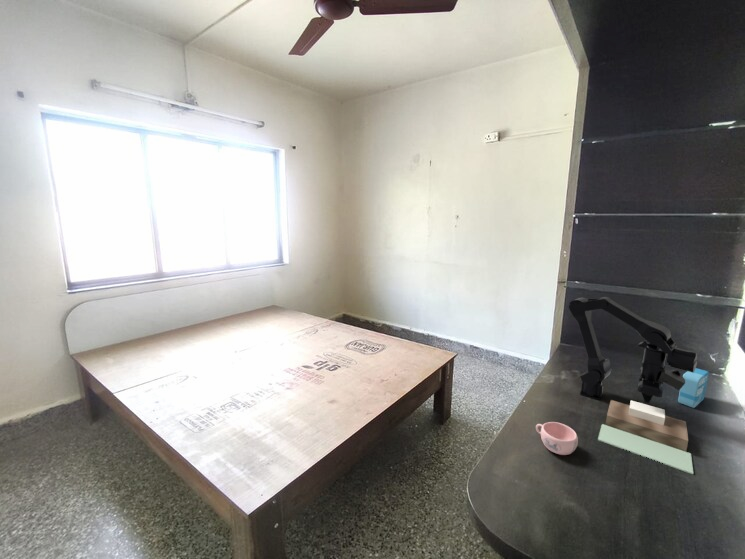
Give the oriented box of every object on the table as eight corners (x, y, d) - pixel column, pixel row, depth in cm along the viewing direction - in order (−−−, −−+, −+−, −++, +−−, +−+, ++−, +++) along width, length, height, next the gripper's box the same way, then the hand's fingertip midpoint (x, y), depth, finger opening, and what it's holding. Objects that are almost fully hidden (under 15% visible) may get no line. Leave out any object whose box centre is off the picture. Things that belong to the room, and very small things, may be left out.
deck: (605, 425, 111) (606, 415, 110) (609, 409, 120) (610, 399, 119) (685, 452, 98) (688, 440, 98) (683, 432, 107) (685, 421, 106)
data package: (693, 409, 120) (699, 379, 117) (677, 403, 123) (682, 374, 121) (704, 399, 126) (709, 370, 123) (688, 394, 130) (693, 366, 127)
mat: (597, 440, 104) (597, 439, 104) (601, 424, 112) (602, 423, 112) (693, 474, 90) (693, 473, 90) (690, 454, 98) (690, 453, 97)
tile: (628, 414, 111) (629, 407, 110) (629, 406, 115) (630, 400, 115) (663, 425, 105) (664, 418, 104) (663, 416, 109) (664, 409, 109)
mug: (581, 449, 100) (583, 432, 99) (568, 464, 94) (570, 446, 93) (542, 430, 110) (543, 414, 109) (527, 442, 104) (528, 426, 103)
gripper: (687, 379, 101) (678, 424, 104) (684, 358, 115) (676, 399, 118) (641, 368, 108) (634, 411, 111) (643, 350, 122) (637, 388, 125)
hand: (646, 402), depth 116 cm, fingers closed
